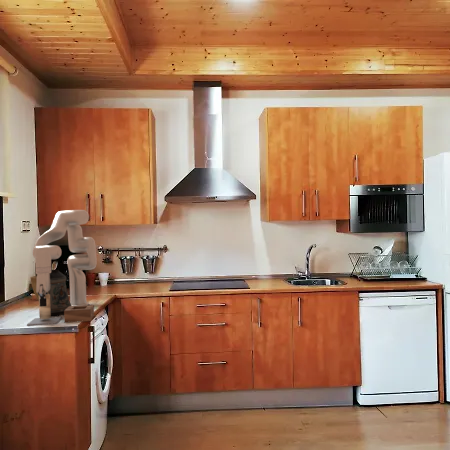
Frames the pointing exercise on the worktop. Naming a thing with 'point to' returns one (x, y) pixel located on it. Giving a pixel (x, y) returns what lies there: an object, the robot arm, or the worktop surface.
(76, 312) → the walnut holder
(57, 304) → the beer stein
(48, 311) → the maple plug
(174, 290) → the worktop surface
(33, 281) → the plant pot
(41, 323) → the slate mat
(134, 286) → the worktop surface
